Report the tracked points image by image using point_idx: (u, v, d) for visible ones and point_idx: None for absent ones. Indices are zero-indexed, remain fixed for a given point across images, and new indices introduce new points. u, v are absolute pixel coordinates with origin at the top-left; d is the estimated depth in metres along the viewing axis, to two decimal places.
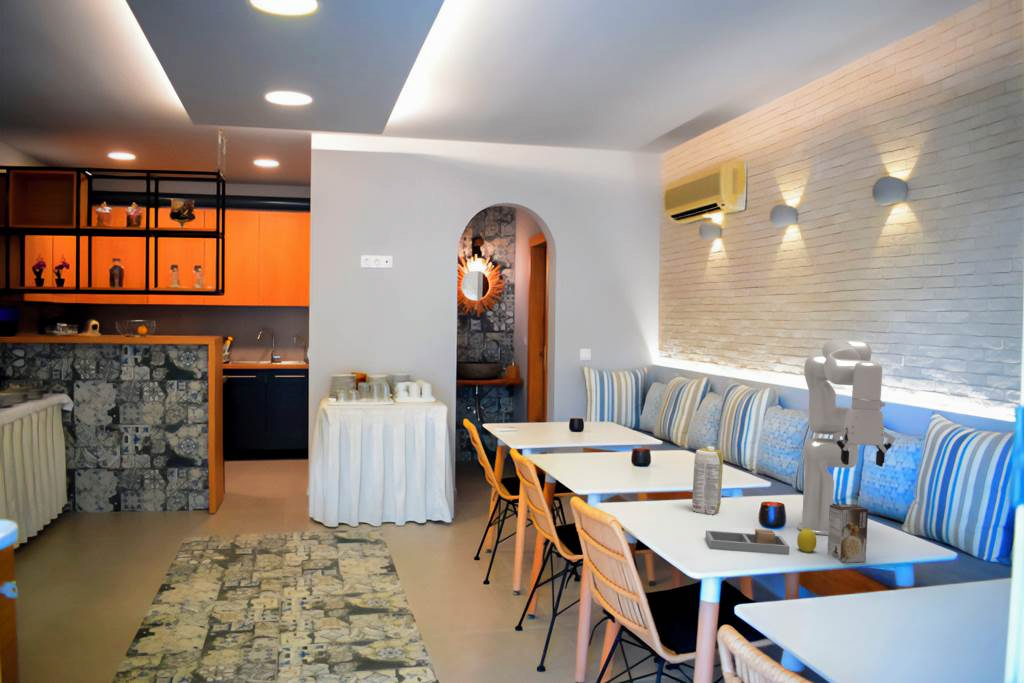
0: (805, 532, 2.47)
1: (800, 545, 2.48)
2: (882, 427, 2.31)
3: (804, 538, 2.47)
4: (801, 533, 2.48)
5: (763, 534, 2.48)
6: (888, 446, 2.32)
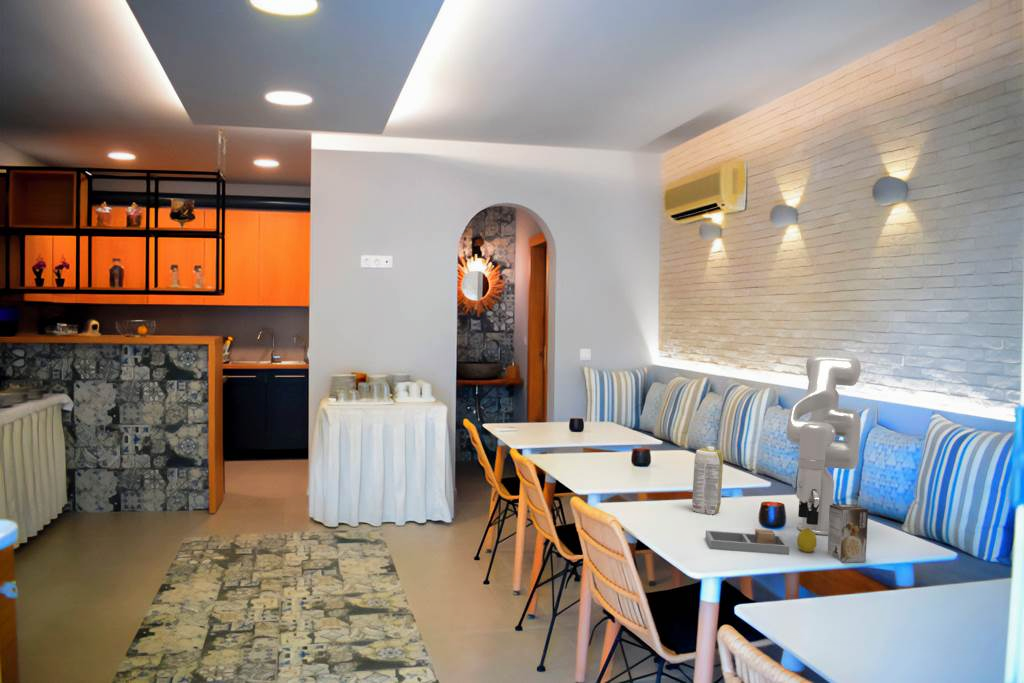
0: (805, 532, 2.47)
1: (800, 545, 2.48)
2: None
3: (804, 538, 2.47)
4: (801, 533, 2.48)
5: (763, 534, 2.48)
6: None
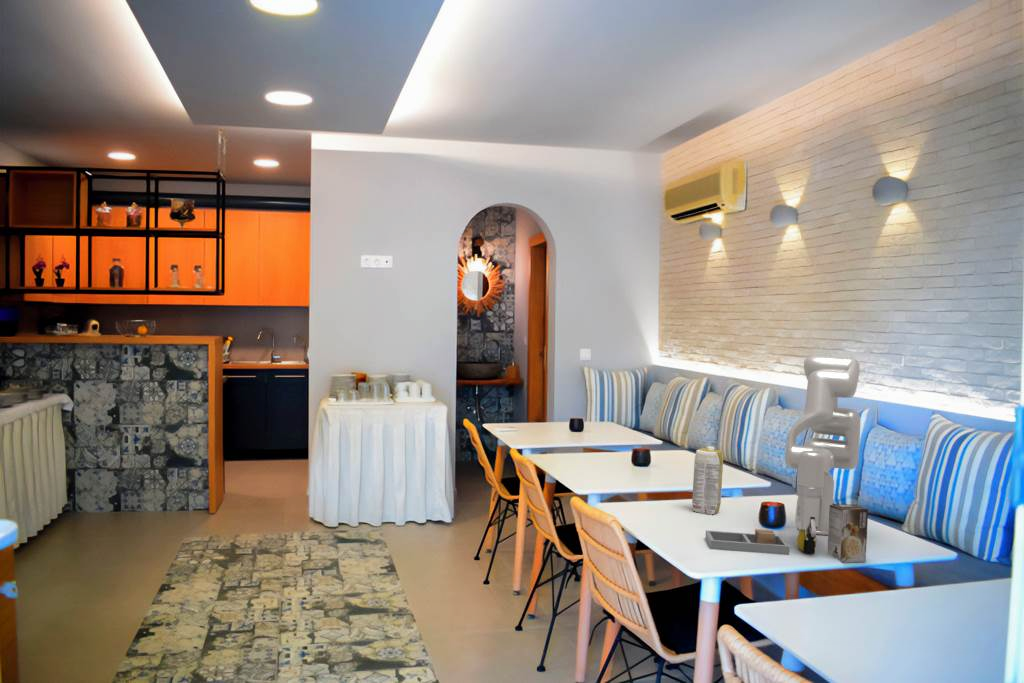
0: None
1: (800, 545, 2.48)
2: None
3: (804, 538, 2.47)
4: (801, 533, 2.48)
5: (763, 534, 2.48)
6: None
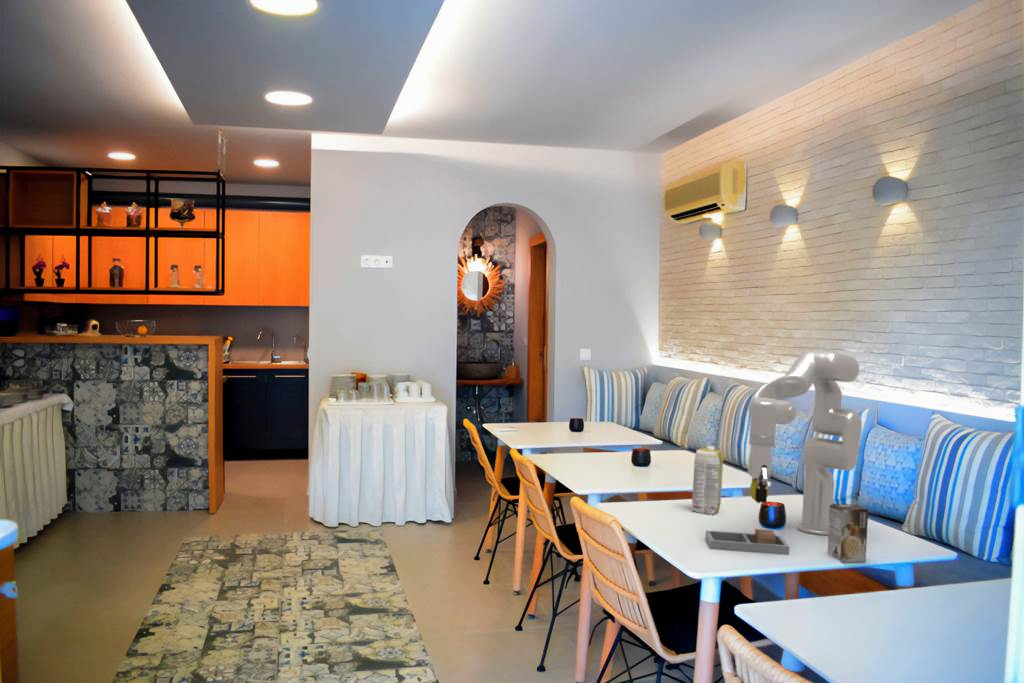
0: None
1: (752, 494, 2.48)
2: None
3: (756, 487, 2.47)
4: (753, 482, 2.49)
5: (763, 534, 2.48)
6: None
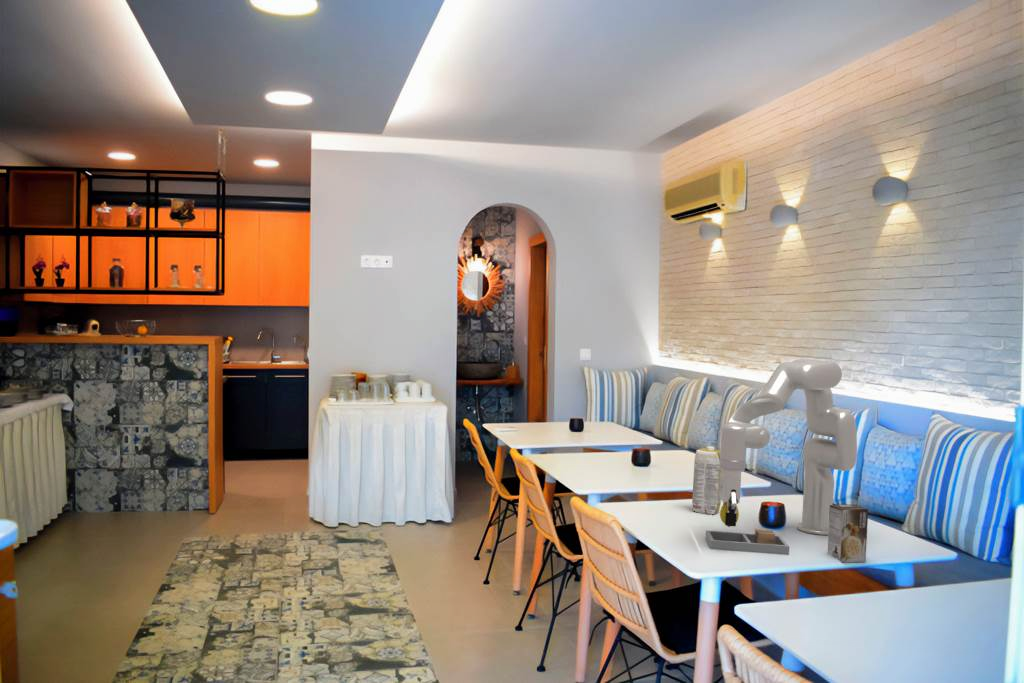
0: None
1: (722, 518, 2.50)
2: None
3: (726, 511, 2.49)
4: (723, 506, 2.50)
5: (763, 534, 2.48)
6: None
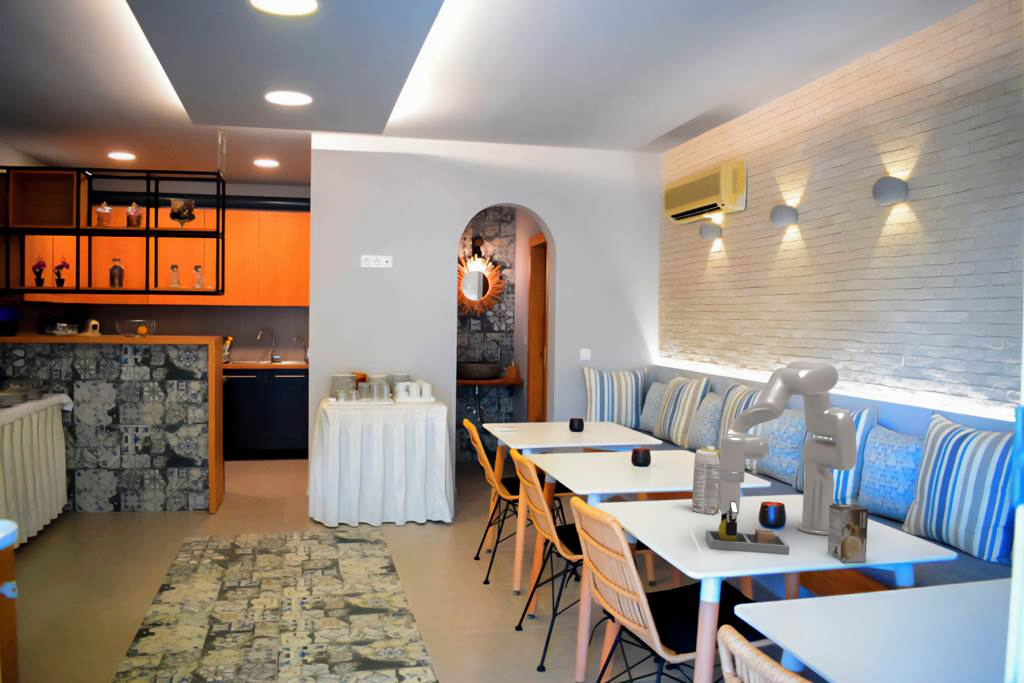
0: (725, 522, 2.50)
1: (721, 535, 2.50)
2: None
3: (724, 528, 2.50)
4: (721, 523, 2.51)
5: (763, 534, 2.48)
6: None
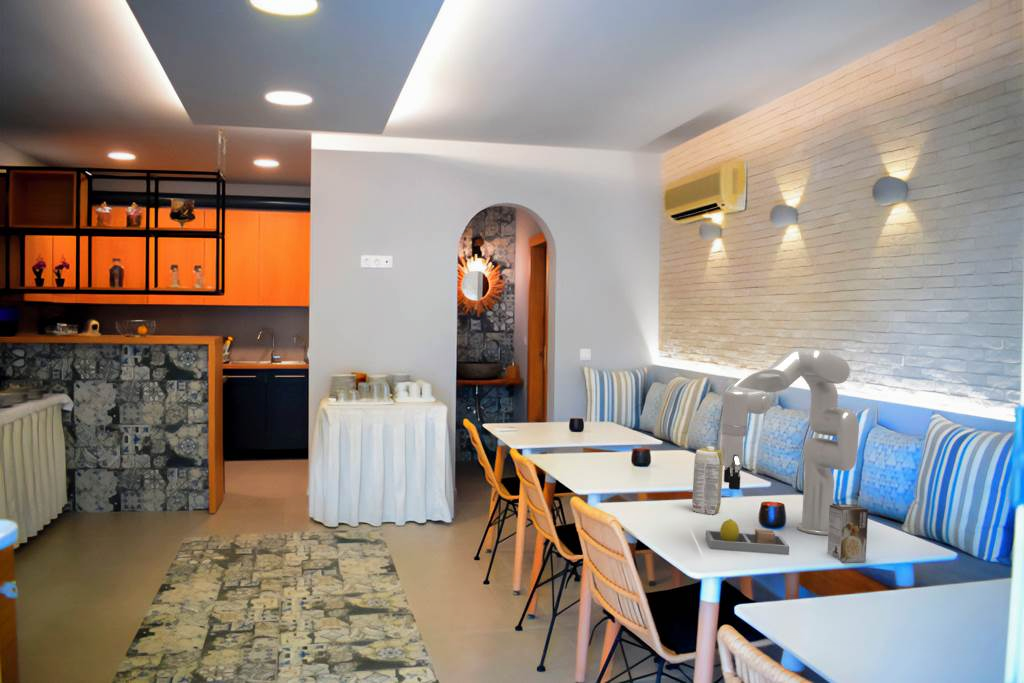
0: (728, 523, 2.50)
1: (722, 535, 2.50)
2: None
3: (726, 529, 2.49)
4: (724, 524, 2.50)
5: (763, 534, 2.48)
6: None
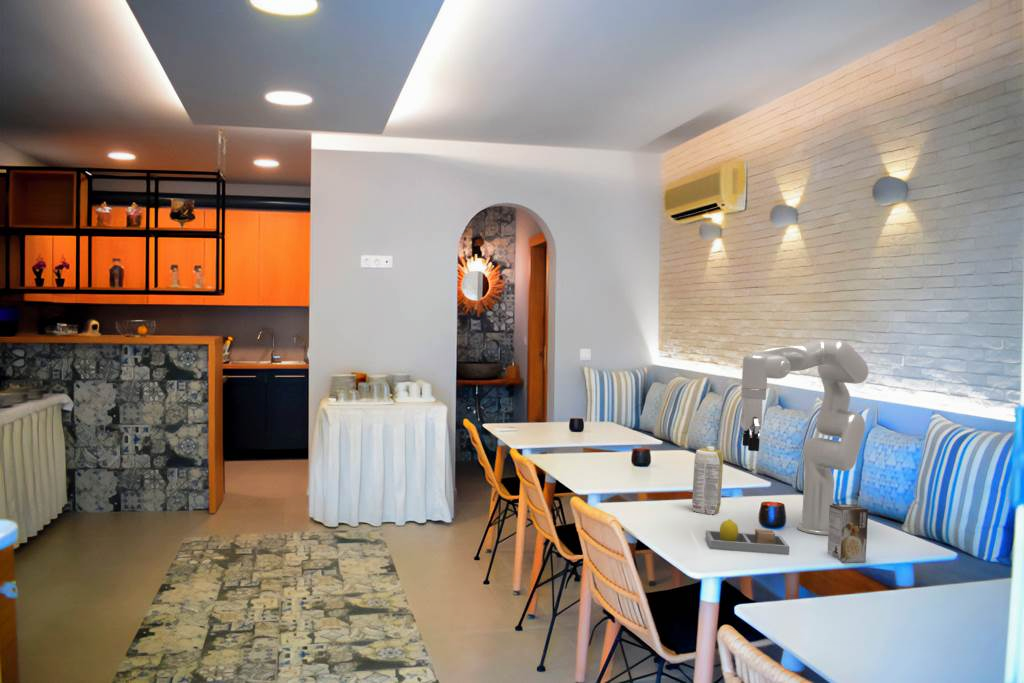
0: (727, 523, 2.50)
1: (722, 536, 2.50)
2: None
3: (725, 529, 2.49)
4: (723, 524, 2.50)
5: (763, 534, 2.48)
6: None
